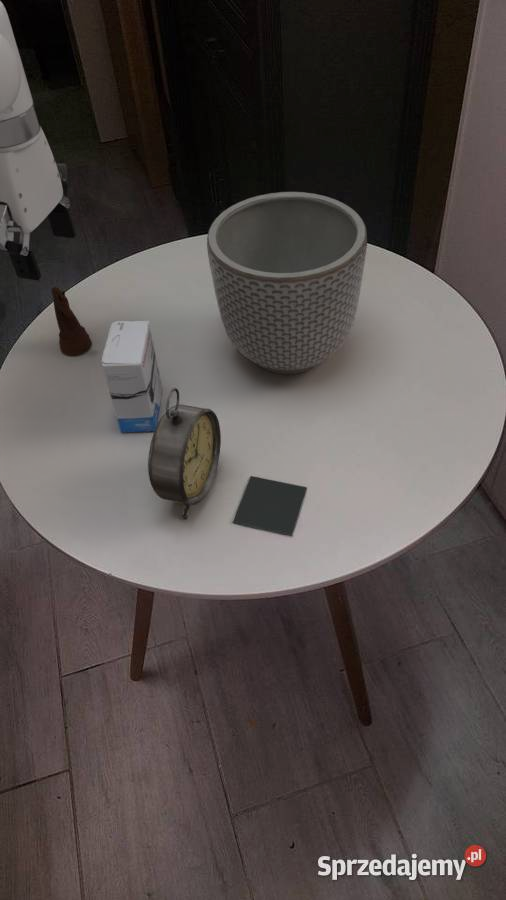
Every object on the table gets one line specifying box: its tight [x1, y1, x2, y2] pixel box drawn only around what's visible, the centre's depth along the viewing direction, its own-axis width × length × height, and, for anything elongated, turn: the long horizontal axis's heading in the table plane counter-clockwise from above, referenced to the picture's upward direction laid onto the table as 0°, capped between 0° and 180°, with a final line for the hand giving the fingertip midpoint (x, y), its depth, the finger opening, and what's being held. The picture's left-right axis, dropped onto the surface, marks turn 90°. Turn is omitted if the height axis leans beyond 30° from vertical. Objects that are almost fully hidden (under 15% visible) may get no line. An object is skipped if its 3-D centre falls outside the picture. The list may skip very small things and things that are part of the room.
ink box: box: [101, 320, 163, 433], centre depth 87 cm, size 8×5×12 cm, turn 179°
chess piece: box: [51, 286, 92, 357], centre depth 97 cm, size 5×5×10 cm
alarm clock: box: [147, 387, 222, 520], centre depth 76 cm, size 11×5×16 cm, turn 161°
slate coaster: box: [232, 475, 308, 537], centre depth 80 cm, size 7×7×1 cm
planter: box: [206, 191, 368, 375], centre depth 90 cm, size 20×20×19 cm
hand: (48, 256), depth 90 cm, fingers open, 9 cm apart
